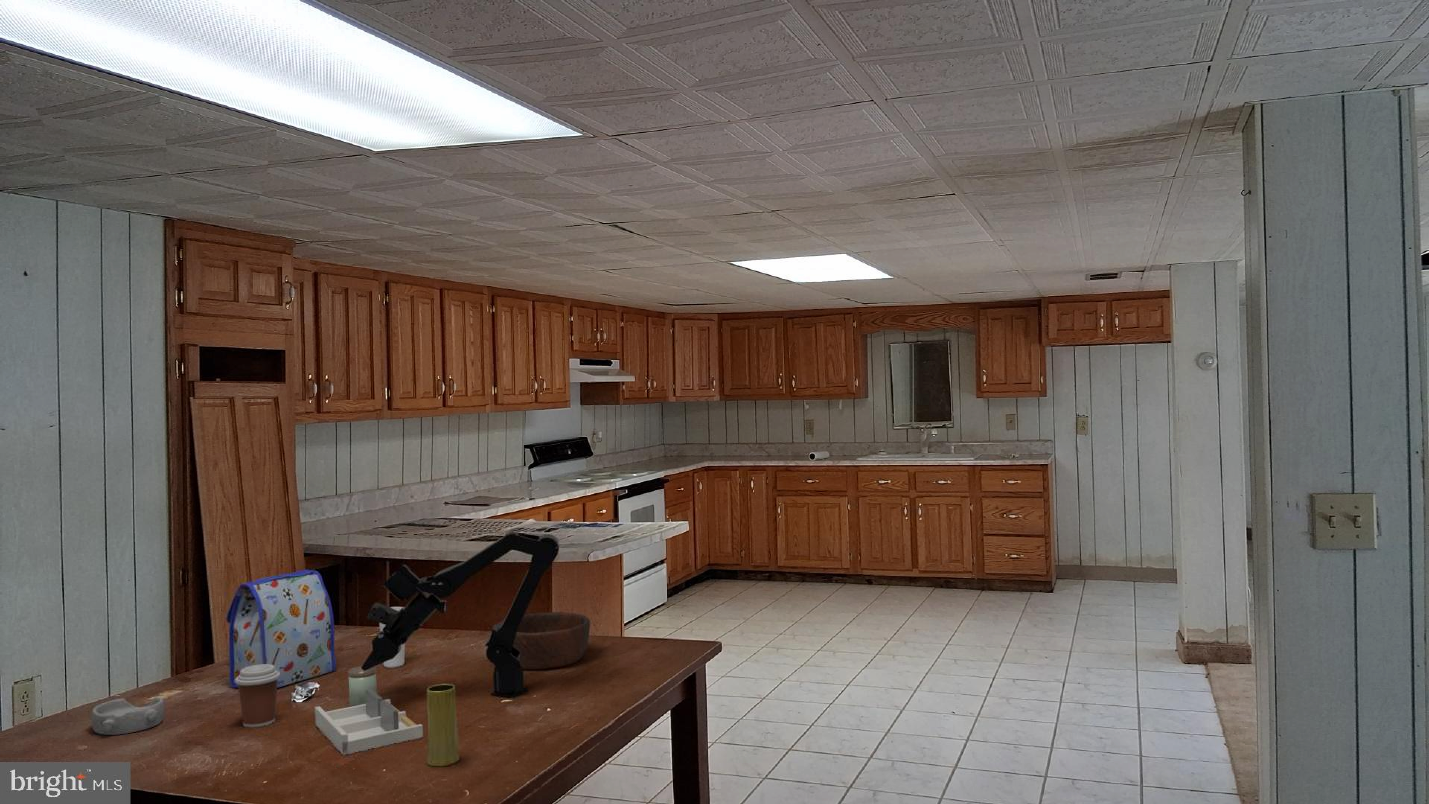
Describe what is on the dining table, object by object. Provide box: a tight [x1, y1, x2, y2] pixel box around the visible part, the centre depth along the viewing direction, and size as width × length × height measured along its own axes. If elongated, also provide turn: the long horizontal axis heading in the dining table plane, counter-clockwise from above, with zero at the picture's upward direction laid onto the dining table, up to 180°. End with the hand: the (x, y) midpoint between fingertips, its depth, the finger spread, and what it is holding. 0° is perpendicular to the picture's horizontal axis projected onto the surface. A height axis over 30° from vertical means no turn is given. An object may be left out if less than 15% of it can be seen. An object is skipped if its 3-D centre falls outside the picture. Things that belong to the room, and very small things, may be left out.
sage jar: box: [348, 665, 377, 707], centre depth 226 cm, size 6×6×8 cm
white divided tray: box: [314, 698, 424, 756], centre depth 207 cm, size 16×23×6 cm
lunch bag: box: [225, 569, 337, 689], centre depth 249 cm, size 23×17×27 cm
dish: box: [90, 696, 165, 736], centre depth 215 cm, size 14×14×5 cm
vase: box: [426, 683, 460, 767], centre depth 188 cm, size 6×6×14 cm
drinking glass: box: [378, 606, 406, 669], centre depth 258 cm, size 7×7×15 cm
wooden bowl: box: [496, 611, 591, 671], centre depth 260 cm, size 25×25×10 cm
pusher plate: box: [366, 689, 383, 718], centre depth 213 cm, size 1×9×5 cm, turn 36°
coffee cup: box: [235, 664, 280, 728], centre depth 215 cm, size 9×9×12 cm
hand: (367, 664), depth 226 cm, fingers open, 9 cm apart
